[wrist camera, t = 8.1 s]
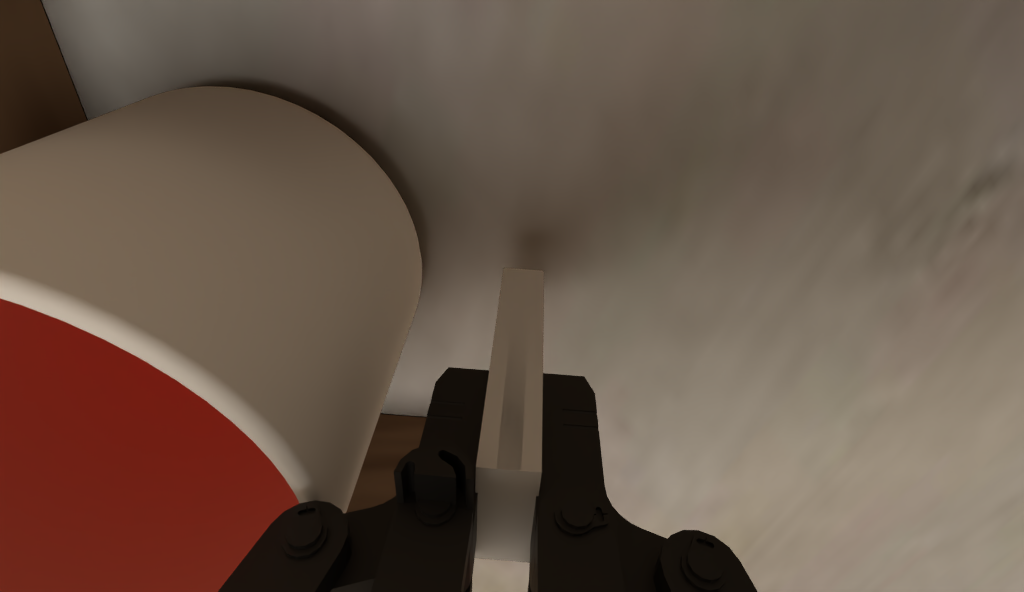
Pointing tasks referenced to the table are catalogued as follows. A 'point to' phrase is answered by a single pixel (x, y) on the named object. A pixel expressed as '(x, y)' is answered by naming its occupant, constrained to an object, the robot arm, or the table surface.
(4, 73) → the box
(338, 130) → the cup
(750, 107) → the table surface
